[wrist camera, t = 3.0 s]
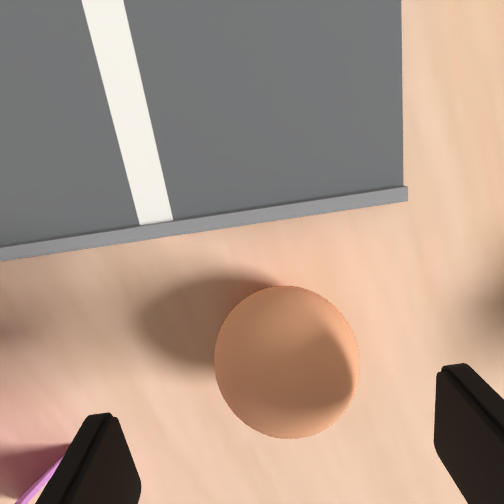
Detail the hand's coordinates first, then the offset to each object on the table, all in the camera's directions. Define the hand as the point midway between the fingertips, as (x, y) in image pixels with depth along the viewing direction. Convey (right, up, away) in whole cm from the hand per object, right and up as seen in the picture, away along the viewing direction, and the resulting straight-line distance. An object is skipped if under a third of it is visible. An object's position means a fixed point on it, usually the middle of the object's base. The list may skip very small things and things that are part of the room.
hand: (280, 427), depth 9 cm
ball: (+1, +2, +7) cm, 7 cm away
